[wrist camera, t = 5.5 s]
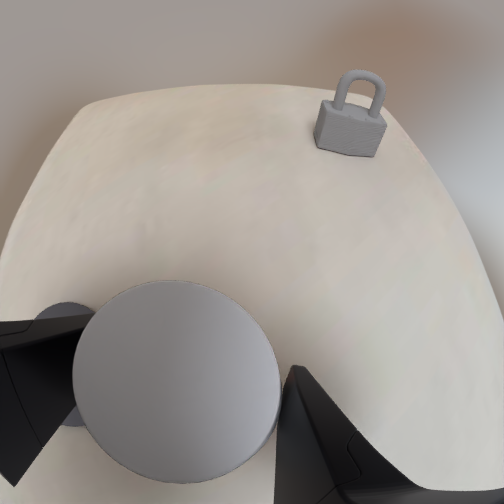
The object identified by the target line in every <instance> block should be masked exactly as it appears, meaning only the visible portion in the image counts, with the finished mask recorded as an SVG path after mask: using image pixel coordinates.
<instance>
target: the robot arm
mask: <svg viewBox="0 0 504 504" xmlns="http://www.w3.org/2000/svg"><path fill="white" fill-rule="evenodd" d="M95 314H96V313H89V314H81V315H72V316H63V317H54V318H45V319H35V320H23V321H1V322H0V474H1V475H2V476H3V477H4V478H5V479H6V480H7V481H8V482H9V483H10V484H11V485H12V486H13V487H15V486H16V485H17V483H18V482H19V480H20V479H21V478H22V476H23V475H24V473H25V472H26V471H27V469H28V468H29V467H30V465H31V464H32V462H33V461H34V460H35V458H36V457H37V456H38V454H39V453H40V452H41V450H42V449H43V448H42V447H44V446H45V445H46V443H47V442H48V441H49V439H50V438H51V437H52V436H53V434H54V433H55V432H56V430H57V429H58V428H59V426H60V425H61V424H62V423H63V421H64V420H65V419H66V418H67V416H68V415H69V414H70V412H71V411H72V410H73V409H74V407H75V406H76V405H77V403H76V400H75V395H74V390H73V362H74V356H75V352H76V348H77V345H78V342H79V340H80V337H81V335H82V333H83V331H84V329H85V328H86V326H87V324H88V323H89V321H90V320H91V318H92V317H93V316H94V315H95ZM274 504H504V488H500V489H495V490H486V491H442V490H430V489H426V488H423V487H420V486H418V485H416V484H415V483H413V482H412V481H411V480H409V479H408V478H407V477H406V476H405V475H404V474H402V473H401V472H400V471H399V470H398V469H397V468H395V467H394V466H393V465H392V464H391V463H390V462H389V461H387V460H386V459H385V458H384V457H383V456H382V455H381V454H380V453H379V452H378V451H377V450H376V449H375V448H374V447H373V446H372V445H371V444H370V443H369V442H368V441H367V440H366V439H365V438H364V436H363V435H362V434H361V433H360V432H359V431H358V430H357V428H356V427H355V426H354V425H353V424H352V423H351V421H350V420H349V419H348V418H347V417H346V416H345V414H344V413H343V412H342V411H341V410H340V409H339V407H338V406H337V405H336V404H335V403H334V401H333V400H332V399H331V398H330V397H329V395H328V394H327V393H326V392H325V391H324V389H323V388H322V387H321V386H320V385H319V383H318V382H317V381H316V380H315V378H314V377H313V376H312V375H311V374H310V372H309V371H308V370H307V369H306V368H305V367H304V366H299V365H293V366H292V367H291V369H290V372H289V374H288V377H287V379H286V382H285V384H284V388H283V394H282V403H281V410H280V415H279V418H278V424H277V442H276V467H275V488H274Z"/></svg>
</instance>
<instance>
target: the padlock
mask: <svg viewBox="0 0 504 504" xmlns="http://www.w3.org/2000/svg"><path fill="white" fill-rule="evenodd" d="M355 80H366V81H369V82H371V83H373V84H374V85H375V88H376V91H375V96H374V98H373V101H372V104H371V107H370V109H367V108H364V107H361V106H357V105H354V104H350V103H345V99H346V95H347V92H348V88H349V86H350V84H351V83H352V82H353V81H355ZM385 94H386V86H385V83H384V81H383V80H382V79H381V78H380V77H379V76H377V75H376V74H374V73H371V72H369V71H365V70H351V71H348V72H347V73H345V74H344V75H343V76H342V77H341V79H340V81H339V83H338V86H337V90H336V94H335V97H334V101H328V100H322V103H321V106H320V107H321V108H320V111H319V116H318V119H317V122H316V126H315V131H314V136H315V140H316V144H317V147H318V148H321V149H326V150H330V151H334V152H338V153H342V154H346V155H355V156H369V157H374V155H375V153H376V151H377V148H378V146H379V144H380V142H381V139H382V137H383V134H384V133H385V130H386V128H387V123H386V122H385V120H384V119H383V117H382V116H381V114H380V113H379V112H380V109H381V107H382V104H383V101H384V99H385Z"/></svg>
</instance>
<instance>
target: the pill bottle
mask: <svg viewBox="0 0 504 504" xmlns="http://www.w3.org/2000/svg"><path fill="white" fill-rule="evenodd" d="M73 390H74V395H75V400H76V403H77V407H78V410H79V413H80V415H81V417H82V419H83V422H84V424H85V426H86V428H87V430H88V431H89V433H90V434H91V435H92V437H93V438H94V440H95V441H96V442H97V443H98V445H99V446H100V447H101V448H102V449H103V450H104V451H105V452H106V453H107V454H108V455H109V456H110V457H112V458H113V459H114V460H115V461H117V462H118V463H119V464H121V465H122V466H124V467H126V468H127V469H129V470H131V471H132V472H135V473H137V474H139V475H141V476H144V477H147V478H150V479H153V480H157V481H162V482H167V483H179V484H186V483H198V482H203V481H207V480H211V479H214V478H217V477H220V476H223V475H225V474H227V473H229V472H231V471H232V470H234V469H236V468H238V467H239V466H241V465H242V464H243V463H245V462H246V461H247V460H248V459H249V458H251V457H252V456H253V455H255V454H256V453H257V452H258V451H259V450H260V449H261V448H262V447H263V445H264V444H265V443H266V442H267V440H268V439H269V437H270V436H271V434H272V432H273V430H274V428H275V426H276V423H277V421H278V418H279V415H280V410H281V403H282V386H281V380H280V375H279V369H278V364H277V361H276V357H275V354H274V351H273V349H272V347H271V344H270V342H269V340H268V338H267V337H266V335H265V333H264V332H263V330H262V329H261V327H260V326H259V325H258V323H257V322H256V321H255V320H254V319H253V317H252V316H251V315H250V314H249V313H248V312H247V311H246V310H245V309H244V308H243V307H241V306H240V305H239V304H238V303H236V302H235V301H233V300H232V299H230V298H229V297H227V296H226V295H224V294H222V293H220V292H219V291H216V290H213V289H211V288H209V287H206V286H203V285H200V284H196V283H192V282H186V281H176V280H166V281H155V282H149V283H145V284H141V285H138V286H135V287H133V288H130V289H128V290H126V291H124V292H122V293H120V294H118V295H117V296H115V297H113V298H112V299H111V300H109V301H108V302H107V303H106V304H105V305H103V306H102V307H101V308H100V309H99V310H98V311H97V312H96V314H95V315H94V316H93V317H92V318H91V320H90V321H89V323H88V324H87V326H86V328H85V329H84V331H83V333H82V335H81V337H80V340H79V342H78V345H77V348H76V352H75V356H74V362H73Z"/></svg>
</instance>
